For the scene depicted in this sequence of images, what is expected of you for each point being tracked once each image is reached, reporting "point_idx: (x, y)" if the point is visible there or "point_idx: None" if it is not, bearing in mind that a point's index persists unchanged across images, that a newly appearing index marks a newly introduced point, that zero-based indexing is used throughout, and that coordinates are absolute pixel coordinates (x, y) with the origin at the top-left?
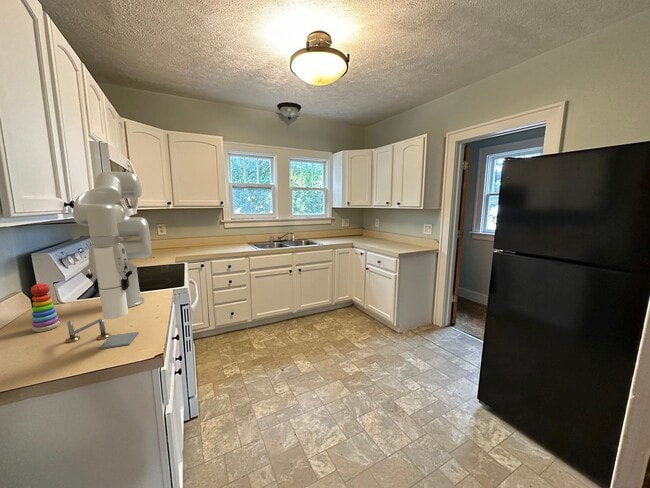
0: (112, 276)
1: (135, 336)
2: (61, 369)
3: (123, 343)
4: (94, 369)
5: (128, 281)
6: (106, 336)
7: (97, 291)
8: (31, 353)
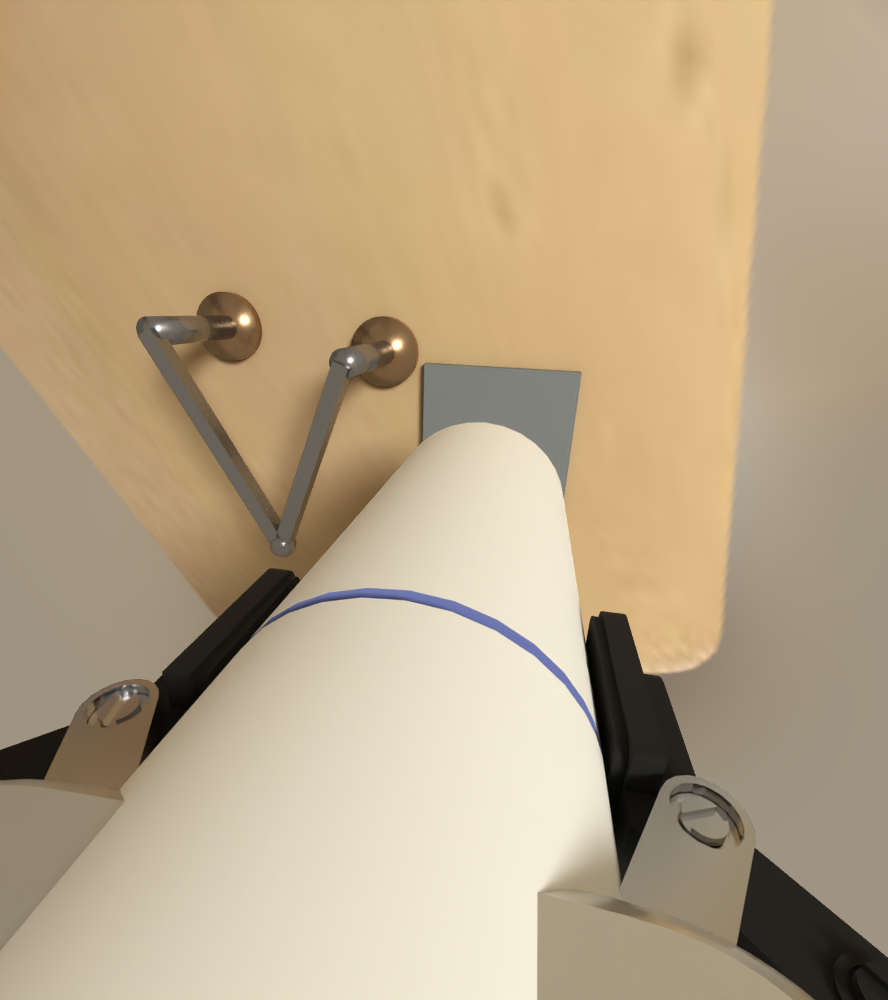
0: None
1: (573, 426)
2: None
3: None
4: None
5: (677, 740)
6: (405, 373)
7: None
8: (136, 419)
